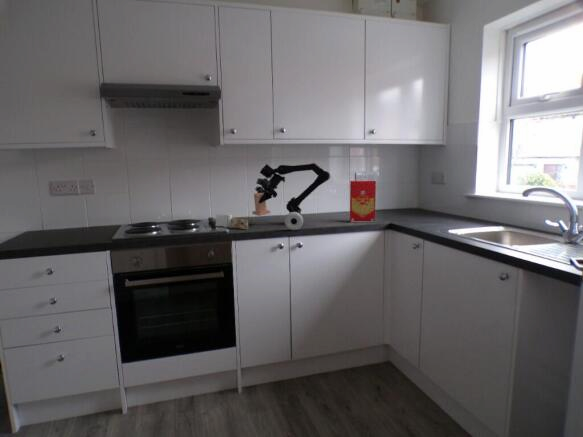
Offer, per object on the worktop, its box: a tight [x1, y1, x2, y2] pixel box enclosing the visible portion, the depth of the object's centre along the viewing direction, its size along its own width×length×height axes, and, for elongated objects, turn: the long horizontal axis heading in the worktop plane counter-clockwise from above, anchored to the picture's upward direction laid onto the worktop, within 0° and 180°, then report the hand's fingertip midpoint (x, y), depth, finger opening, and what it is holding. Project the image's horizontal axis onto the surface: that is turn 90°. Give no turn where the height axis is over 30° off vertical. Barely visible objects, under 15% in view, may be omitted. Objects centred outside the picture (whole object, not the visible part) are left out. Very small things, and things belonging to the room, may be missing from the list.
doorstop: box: [252, 193, 271, 217], centre depth 217 cm, size 8×8×12 cm
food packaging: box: [349, 180, 377, 222], centre depth 226 cm, size 15×5×25 cm, turn 85°
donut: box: [284, 212, 304, 231], centre depth 199 cm, size 10×4×10 cm, turn 90°
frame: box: [215, 213, 233, 228], centre depth 212 cm, size 10×2×7 cm, turn 70°
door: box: [230, 217, 249, 230], centre depth 206 cm, size 12×2×5 cm, turn 51°
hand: (257, 202), depth 215 cm, fingers closed on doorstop, 5 cm apart
